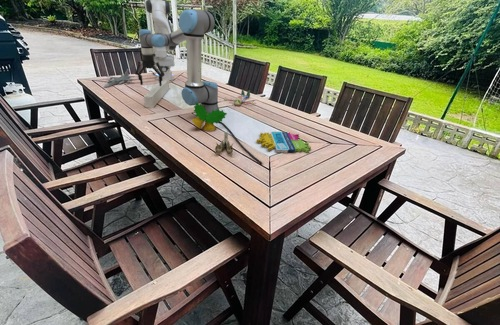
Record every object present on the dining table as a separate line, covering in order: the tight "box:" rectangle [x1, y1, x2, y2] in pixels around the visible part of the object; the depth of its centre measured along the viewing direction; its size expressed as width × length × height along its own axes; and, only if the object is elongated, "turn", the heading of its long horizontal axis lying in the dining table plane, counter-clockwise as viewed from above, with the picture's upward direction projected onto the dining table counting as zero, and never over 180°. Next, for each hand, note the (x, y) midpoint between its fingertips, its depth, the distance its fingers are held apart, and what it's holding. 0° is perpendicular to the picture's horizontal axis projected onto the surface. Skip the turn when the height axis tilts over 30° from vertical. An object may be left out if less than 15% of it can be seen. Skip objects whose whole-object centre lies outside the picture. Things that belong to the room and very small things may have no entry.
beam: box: [143, 79, 171, 109], centre depth 216 cm, size 59×6×8 cm, turn 3°
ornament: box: [191, 102, 228, 132], centre depth 162 cm, size 21×8×15 cm, turn 105°
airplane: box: [102, 68, 139, 88], centre depth 247 cm, size 38×31×10 cm
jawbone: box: [214, 131, 234, 156], centre depth 136 cm, size 9×15×10 cm
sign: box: [256, 131, 312, 154], centre depth 152 cm, size 26×2×30 cm
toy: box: [223, 89, 257, 106], centre depth 219 cm, size 28×7×30 cm
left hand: (163, 71), depth 230 cm, fingers open, 8 cm apart
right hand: (151, 85), depth 192 cm, fingers open, 13 cm apart
